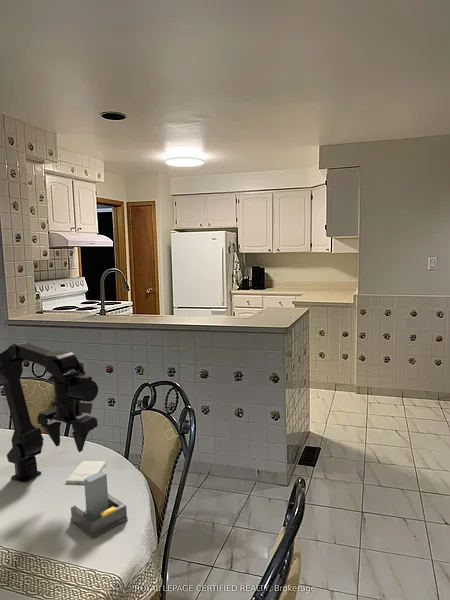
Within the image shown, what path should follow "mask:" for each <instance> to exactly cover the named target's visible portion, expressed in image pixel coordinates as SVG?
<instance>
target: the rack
mask: <svg viewBox="0 0 450 600" xmlns="http://www.w3.org/2000/svg"><path fill="white" fill-rule="evenodd" d="M108 506H109V509H107V510H105V511H103V512H101V513H99V516H98V517H96V518H94V519H93V518H91V517H90V516H88V515H87V513H86V509H85V510H82V509H80V508H79V507H78V506H76V505H73V506H71V507H70V514H71V515H70V516H71V517H70V522H71V523H73V524H74V525H75V526H76V527H77V528H78V529H80V530H81V531H83V532H84V533H85V534H86V535H87V536H89V537H90V538H91V539H92V540H94V539H96V538H98V537H99V536H102V535H103V534H105V533H107V532H109V531H110V530H113V529H115V528H116V527H117V526H120V525H121V524H123V523H125V522H127V521H128V520H129V519H128V515H127V514H128V513H127V505H126V504H125V503H123V502H122V501H120V500H119V499H117V498H116V497H113V496H112V495H111V494H109V493H108Z"/></svg>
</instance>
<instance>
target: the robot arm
mask: <svg viewBox="0 0 450 600" xmlns="http://www.w3.org/2000/svg"><path fill="white" fill-rule="evenodd" d="M25 361H28V362H31V363H34V364H36V365H39V366H42V367H44V369H45V371H46V372H47V373H49V374H51V375H50V376H49V377H48V378H47V381H49V382H53V391H54V393H53V394H54V400H53V401H51V406H53V407H55V408H50V409H47V410H44V411H41V412H40V413H39V414H38V415H37V418H36V419H37V420H36V421H37V424H40V427H42V428H43V429H44V431H45V432H46V433H47V435H48V436H49V438H50V439H51V441H52V442H53V444H54V445H55V446H56V447H60V445H61V425H62V424H65V425H71V428H72V430H73V431H72V432H71V433H72V436H73V440H74V443H75V446H76V449H77V451H78V453H81V452H83V451H84V447H85V443H86V440H87V437H88V435H89V433H90V432H91V431H92V430H94V429H95V428H97V427H99V426H98V419H97V418H96V417H94V416H90V415H89V414H92V409H93V401H94V400H95V399H96V398H97V396H98V393H99V386H98V385H97V383H96V382H95V381H94V380H93V377H92V376H91V375H87V376H85V375H86V371H85V370H84V367H83V366H82V365H81V363H80V361H79V359H78V358H77V356H76V354H75V353H73V352H71V351H65V350H63V351H62V350H60V351H59V350H58V351H52V350H49V349H45V348H42V347H40V346H36V345H33V344H32V343H31V344H30V343H29V342H28V341H21V342H17V343H12V344H11V345H9V346H8V348H7V349H5V350H4V351H2V352H0V383H1V384H2V387H3V391H4V394H5V398H6V403H7V405H8V409H9V413H10V416H11V420H12V425H13V428H14V431H13V433H12V438H11V446H12V447H11V448H10V450H9V451H8V453H7V454H6V458H7V459H6V460H7V461H8V463H12V464H13V465H14V473H15V474H13V475H12V476H10V478H11V479H12V480H14V481H18V482H20V483H27V482H28V481H30V480H32V479H34V478H36V477H38V476H40V475H42V471H41V470H40V471H39V470H38V462H37V457H36V456H38V455H40V454H42V450H43V446H44V437H43V435H42V429H41V428H40V427H36V426H35V425H33V423H32V421H31V417H30V411H29V409H28V405H27V401H26V398H25V394H24V390H23V387H22V386H23V385H22V382H21V377H22V374H23V371H24V367H23V363H24V362H25ZM83 414H88V415H84V416H83ZM80 416H82V417H80ZM78 417H80V418H78Z"/></svg>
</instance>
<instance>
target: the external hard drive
mask: <svg viewBox="0 0 450 600" xmlns="http://www.w3.org/2000/svg"><path fill="white" fill-rule="evenodd" d="M106 465H107V462H106V461H100V460H99V461H96V460H83V461H82V462H81V463H80V464H79V465H78V466H77V467H76V468H75V470H74V471H73V472H72V473H71V474H70V475H69V477H68V478H66V480H65V484H72V485H73V484H74V485H75V484H82V485H85V483H84V479H85V478H87V477H90V476H92V475H94V474H96V473H98V472H100V471H101V472H103V469H104V468H105V467H106Z"/></svg>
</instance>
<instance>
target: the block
mask: <svg viewBox="0 0 450 600" xmlns="http://www.w3.org/2000/svg"><path fill="white" fill-rule="evenodd" d="M84 483H85V484H84V494H85V495H84V497H85V510H86V513H87V515H88V516H90V517H91V518H93V519H94V518H96V517H98V516H99V513H101V512H103V511H105V510H107V509H109V506H108V494H109V493H108V491H109V490H108V478H107V473H106V472H104V471H100V472H98V473H96V474H94V475H92V476H90V477H87V478H85V479H84Z"/></svg>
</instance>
